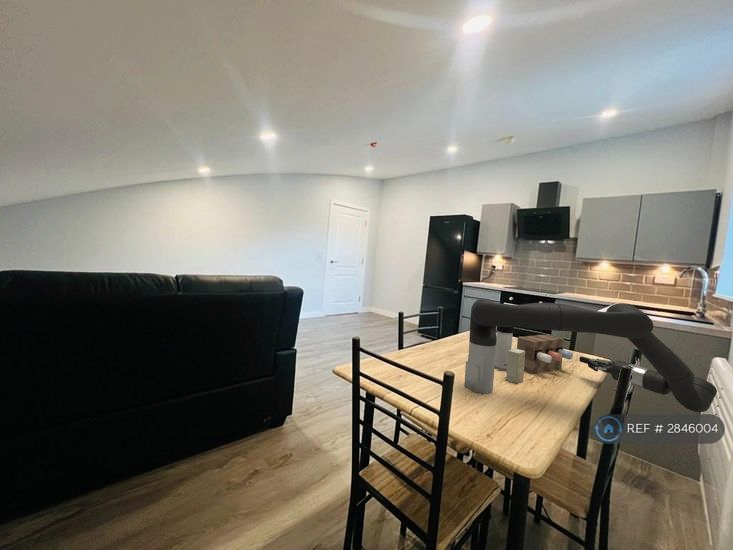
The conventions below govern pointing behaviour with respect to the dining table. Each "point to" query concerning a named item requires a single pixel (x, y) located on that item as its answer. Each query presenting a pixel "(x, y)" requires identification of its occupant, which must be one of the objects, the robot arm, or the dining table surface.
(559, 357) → the red key
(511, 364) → the skincare box
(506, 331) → the travel mug
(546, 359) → the white key
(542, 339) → the box
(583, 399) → the dining table surface
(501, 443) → the dining table surface
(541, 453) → the dining table surface
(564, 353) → the blue key
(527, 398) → the dining table surface
